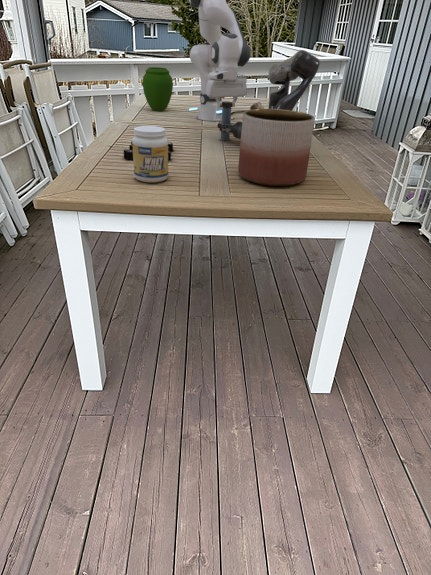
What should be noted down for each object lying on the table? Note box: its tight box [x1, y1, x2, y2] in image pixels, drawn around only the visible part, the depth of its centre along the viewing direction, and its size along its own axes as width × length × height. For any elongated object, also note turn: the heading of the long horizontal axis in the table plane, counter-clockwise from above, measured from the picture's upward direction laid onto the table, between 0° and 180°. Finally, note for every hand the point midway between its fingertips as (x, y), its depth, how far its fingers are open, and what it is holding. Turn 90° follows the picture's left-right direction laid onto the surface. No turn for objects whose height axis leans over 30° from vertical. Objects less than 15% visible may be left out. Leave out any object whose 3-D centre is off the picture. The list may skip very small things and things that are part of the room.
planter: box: [237, 108, 316, 187], centre depth 148 cm, size 25×25×22 cm
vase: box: [141, 66, 174, 112], centre depth 261 cm, size 20×20×24 cm
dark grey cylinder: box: [220, 107, 232, 142], centre depth 199 cm, size 4×4×17 cm
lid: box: [222, 100, 233, 109], centre depth 195 cm, size 5×5×2 cm
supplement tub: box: [131, 125, 169, 183], centre depth 142 cm, size 12×12×17 cm
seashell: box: [249, 101, 265, 110], centre depth 266 cm, size 10×6×8 cm, turn 97°
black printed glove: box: [123, 140, 174, 161], centre depth 177 cm, size 19×3×30 cm
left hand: (226, 107), depth 195 cm, fingers open, 6 cm apart
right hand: (222, 124), depth 202 cm, fingers closed on dark grey cylinder, 4 cm apart
